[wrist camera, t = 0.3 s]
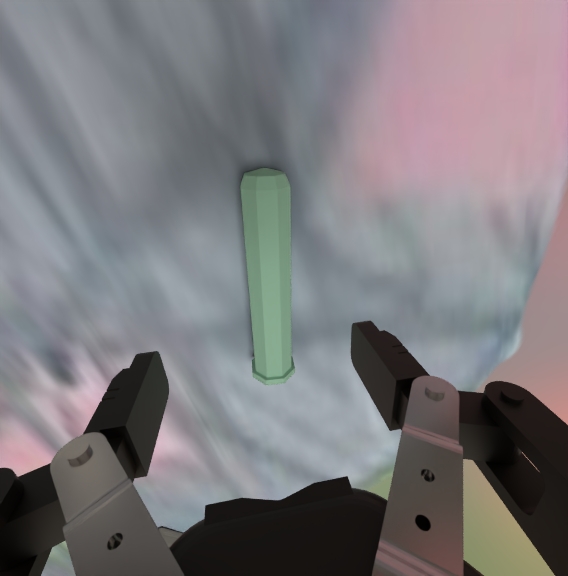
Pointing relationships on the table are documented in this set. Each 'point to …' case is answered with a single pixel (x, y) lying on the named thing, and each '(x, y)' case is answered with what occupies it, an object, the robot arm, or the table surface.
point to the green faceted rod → (269, 271)
